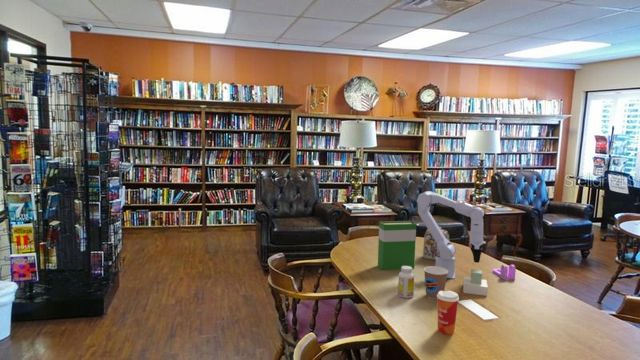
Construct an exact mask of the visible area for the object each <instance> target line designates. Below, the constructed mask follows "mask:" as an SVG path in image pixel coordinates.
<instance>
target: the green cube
mask: <svg viewBox="0 0 640 360" xmlns="http://www.w3.org/2000/svg"><path fill="white" fill-rule="evenodd" d="M482 277H483V271H482V270H480V269H471V270H470V278H471V283H474V284H481V282H482V279H483V278H482Z"/></svg>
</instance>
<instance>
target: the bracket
mask: <svg viewBox="0 0 640 360" xmlns="http://www.w3.org/2000/svg"><path fill="white" fill-rule="evenodd" d="M492 273H493V274H495V275H496V276H498V277H500V278H501V279H502V278H503V280H506V279H513V280H516V266H515V264H509V265H507V264H501V266H500V268H492Z"/></svg>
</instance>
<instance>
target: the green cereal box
mask: <svg viewBox="0 0 640 360" xmlns="http://www.w3.org/2000/svg"><path fill="white" fill-rule="evenodd" d="M378 225H379V226H378V244H377V245H378V246H377V247H378V248H377V249H378V250H377V266H378V267H379V269H380V270H382V271H390V270H391V271H393V270H394V269H395V270H401V267H402V266H410V267H412V270H413V269H415V262H416V261H415V259H416V257H415V256H416V240H417V239H416V237H417V223H412V220H397V221H396V220H395V221H389V220H388V221H379V223H378ZM395 270H394V271H395Z"/></svg>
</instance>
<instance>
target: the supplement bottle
mask: <svg viewBox="0 0 640 360" xmlns="http://www.w3.org/2000/svg"><path fill="white" fill-rule="evenodd" d="M400 270H401V271H400V272H399V273H398V287H397V288H398V289H397V295H398V297H400V298H403V299H411V298H413V297H414V291H415V274H414V273H413V272H412V271H413V269H412V267H410V266H402V267H401V269H400Z"/></svg>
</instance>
